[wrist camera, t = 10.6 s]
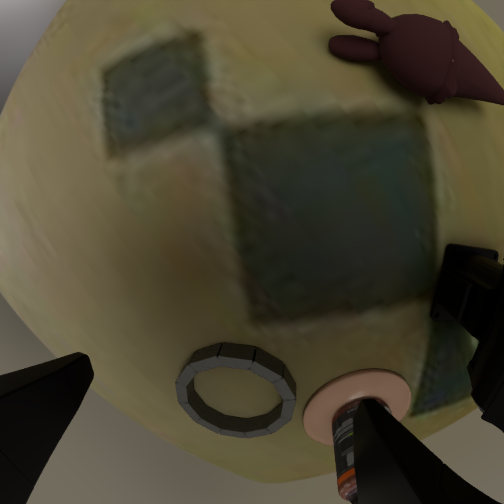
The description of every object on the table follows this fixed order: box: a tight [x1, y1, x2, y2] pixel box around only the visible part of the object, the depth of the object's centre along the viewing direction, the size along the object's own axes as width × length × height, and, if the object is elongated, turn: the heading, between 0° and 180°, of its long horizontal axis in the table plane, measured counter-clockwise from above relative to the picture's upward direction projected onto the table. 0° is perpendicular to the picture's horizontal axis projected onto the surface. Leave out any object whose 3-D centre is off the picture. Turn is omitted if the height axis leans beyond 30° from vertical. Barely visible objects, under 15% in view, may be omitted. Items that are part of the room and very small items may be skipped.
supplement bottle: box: [332, 398, 392, 504], centre depth 16 cm, size 6×6×11 cm
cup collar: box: [175, 342, 296, 438], centre depth 22 cm, size 10×10×2 cm
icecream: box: [329, 0, 504, 105], centre depth 11 cm, size 7×7×15 cm
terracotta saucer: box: [303, 369, 411, 446], centre depth 22 cm, size 11×11×1 cm
